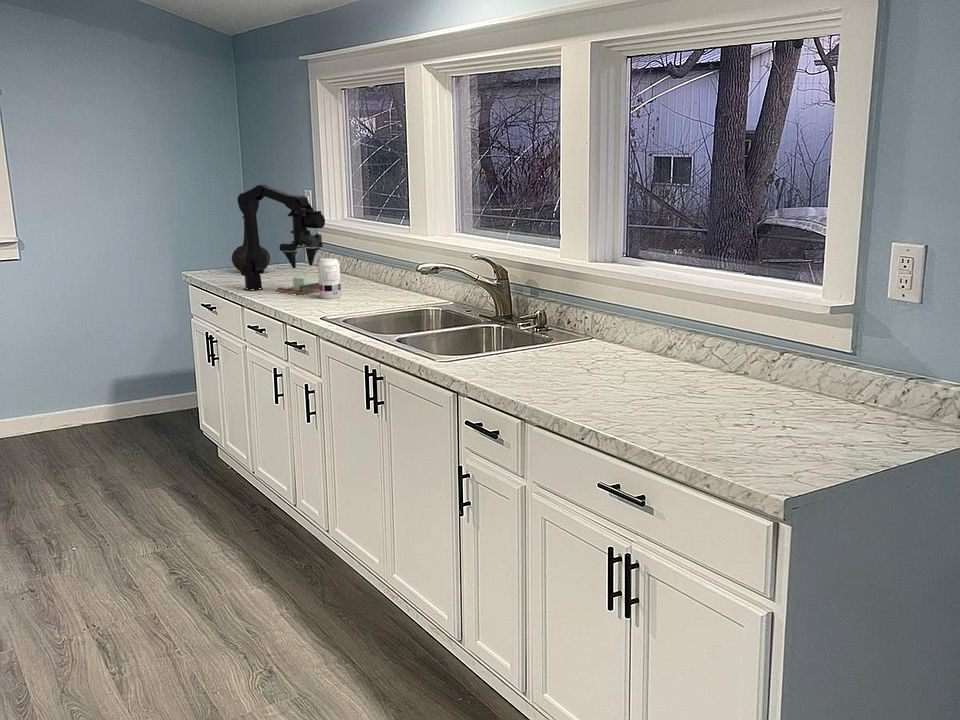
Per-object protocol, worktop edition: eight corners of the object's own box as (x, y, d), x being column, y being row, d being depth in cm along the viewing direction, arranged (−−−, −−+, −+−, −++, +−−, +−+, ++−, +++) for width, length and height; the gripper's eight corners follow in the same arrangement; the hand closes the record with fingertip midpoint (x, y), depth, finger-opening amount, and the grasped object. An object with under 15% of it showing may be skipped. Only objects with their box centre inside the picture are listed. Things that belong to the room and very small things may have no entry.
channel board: (275, 293, 383) (275, 284, 383) (299, 288, 394) (298, 280, 393) (300, 295, 375) (299, 286, 375) (323, 291, 386) (323, 282, 385)
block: (293, 290, 383) (292, 277, 382) (302, 288, 387) (301, 276, 386) (304, 291, 379) (303, 278, 378) (313, 289, 383) (312, 277, 382)
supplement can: (315, 298, 368) (313, 260, 365) (328, 295, 375) (326, 257, 372) (332, 299, 364) (330, 261, 361) (345, 296, 371) (343, 258, 368)
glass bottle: (252, 268, 463) (248, 210, 457) (279, 270, 453) (275, 211, 447) (224, 273, 448) (220, 213, 442) (251, 275, 439) (247, 214, 433)
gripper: (297, 230, 366) (299, 270, 369) (331, 226, 380) (333, 265, 384) (277, 229, 372) (279, 269, 375) (311, 225, 387) (313, 264, 390)
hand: (302, 267), depth 381 cm, fingers open, 9 cm apart
